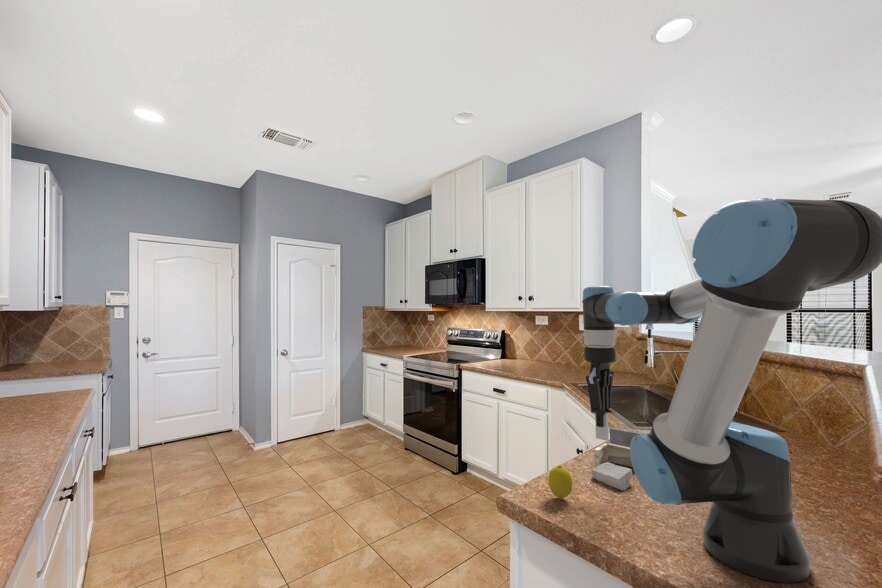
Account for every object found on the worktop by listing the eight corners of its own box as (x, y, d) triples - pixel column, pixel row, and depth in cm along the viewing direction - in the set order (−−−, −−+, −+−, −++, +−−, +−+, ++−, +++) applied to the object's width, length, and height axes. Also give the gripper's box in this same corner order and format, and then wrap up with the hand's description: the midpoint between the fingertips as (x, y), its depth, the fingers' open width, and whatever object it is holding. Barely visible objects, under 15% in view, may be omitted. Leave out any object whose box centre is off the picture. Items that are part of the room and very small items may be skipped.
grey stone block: (595, 491, 105) (585, 470, 106) (609, 479, 108) (599, 459, 109) (625, 494, 97) (614, 471, 98) (639, 481, 100) (628, 459, 101)
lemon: (562, 492, 97) (561, 459, 97) (577, 502, 92) (576, 467, 92) (544, 496, 95) (543, 463, 95) (558, 506, 90) (557, 471, 90)
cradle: (649, 481, 102) (648, 461, 102) (594, 467, 111) (594, 449, 112) (658, 471, 108) (657, 453, 108) (605, 458, 118) (605, 442, 118)
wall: (667, 467, 112) (666, 438, 112) (610, 454, 123) (609, 428, 123) (669, 465, 113) (667, 437, 114) (612, 452, 124) (611, 427, 124)
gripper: (594, 343, 107) (597, 429, 106) (574, 347, 98) (577, 441, 97) (623, 345, 102) (626, 435, 101) (604, 349, 93) (607, 449, 92)
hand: (602, 438), depth 99 cm, fingers closed
